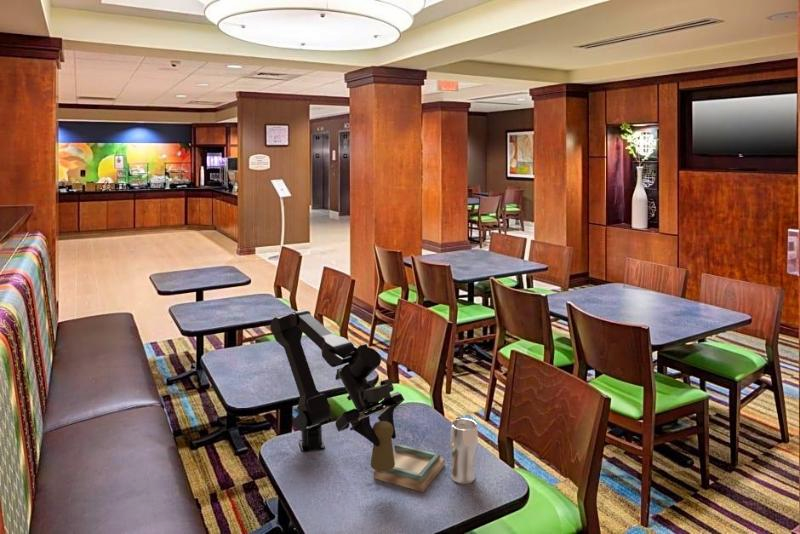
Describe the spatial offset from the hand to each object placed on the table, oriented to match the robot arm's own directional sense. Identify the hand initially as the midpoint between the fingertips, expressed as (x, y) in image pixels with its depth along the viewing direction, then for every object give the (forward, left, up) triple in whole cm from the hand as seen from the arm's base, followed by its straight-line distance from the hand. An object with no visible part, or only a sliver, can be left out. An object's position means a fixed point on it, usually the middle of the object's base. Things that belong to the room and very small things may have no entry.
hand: (386, 442), depth 145 cm
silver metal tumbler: (0, +21, -13) cm, 25 cm away
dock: (-7, +8, -13) cm, 17 cm away
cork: (-1, -1, -7) cm, 7 cm away
